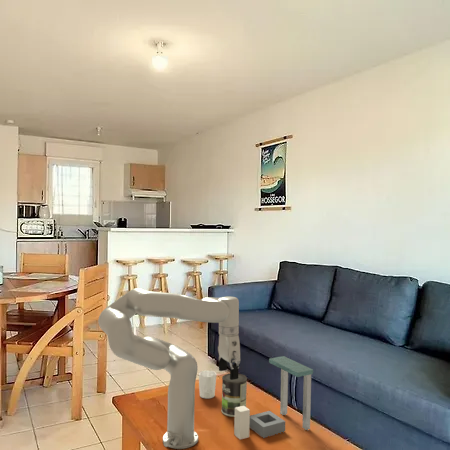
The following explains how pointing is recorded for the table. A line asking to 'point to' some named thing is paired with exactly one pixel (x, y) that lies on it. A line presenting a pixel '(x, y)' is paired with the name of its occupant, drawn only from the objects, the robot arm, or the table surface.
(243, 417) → the peg
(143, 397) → the table surface
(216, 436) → the table surface
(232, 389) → the coffee can
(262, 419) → the socket
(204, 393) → the white cup
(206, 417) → the table surface
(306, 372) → the green-topped leg bench
